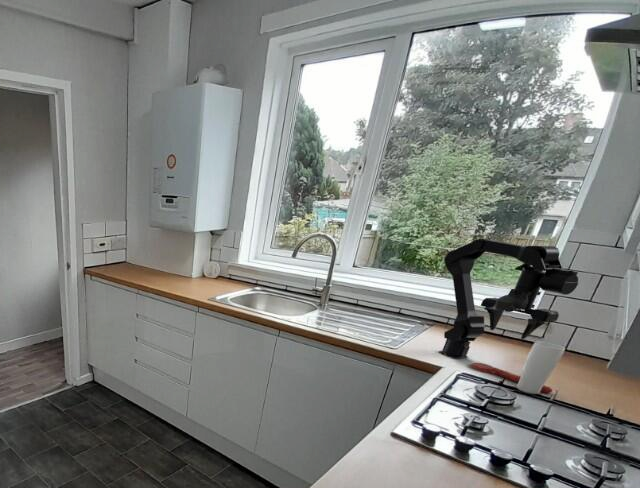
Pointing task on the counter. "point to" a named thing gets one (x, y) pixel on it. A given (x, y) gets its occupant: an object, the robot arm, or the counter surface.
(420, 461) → the counter surface
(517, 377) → the red long flat piece
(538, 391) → the drinking glass
